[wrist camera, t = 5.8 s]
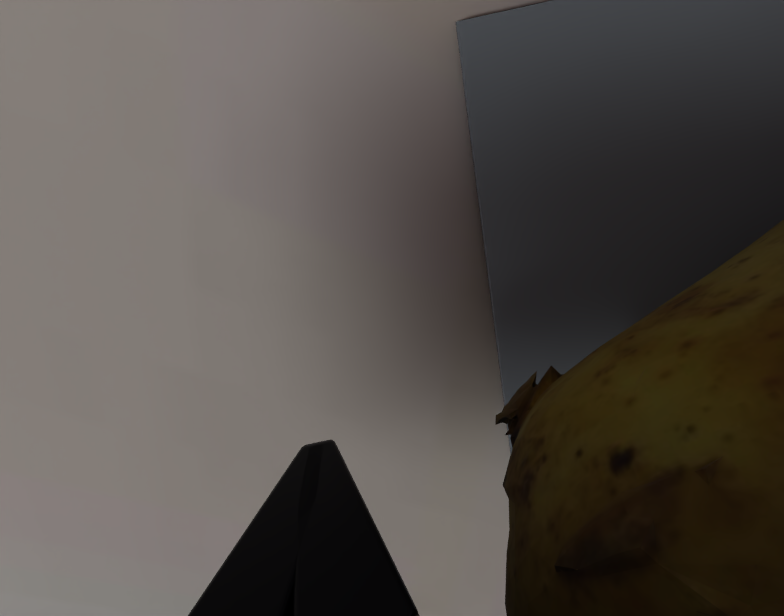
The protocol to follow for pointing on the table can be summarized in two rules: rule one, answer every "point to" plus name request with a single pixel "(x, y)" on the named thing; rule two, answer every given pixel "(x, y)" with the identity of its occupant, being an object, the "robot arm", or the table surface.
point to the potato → (659, 460)
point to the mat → (617, 160)
